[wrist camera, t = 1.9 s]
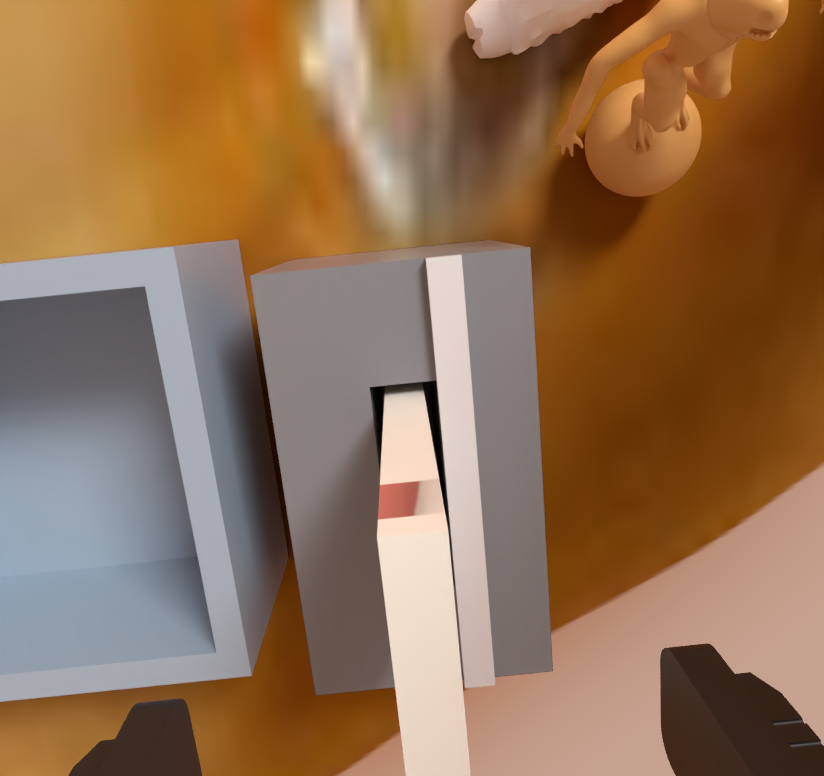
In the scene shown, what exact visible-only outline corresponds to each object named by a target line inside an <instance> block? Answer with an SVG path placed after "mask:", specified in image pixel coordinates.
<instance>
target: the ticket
mask: <svg viewBox="0 0 824 776" xmlns="http://www.w3.org/2000/svg"><path fill="white" fill-rule="evenodd" d="M377 542H378V551H379V559H380V567H381V575H382V583H383V592H384V600H385V608H386V616H387V625H388V633H389V641H390V649H391V658H392V666H393V674H394V682H395V690H396V699H397V707H398V715H399V723H400V732H401V740H402V747H403V756H404V764H405V773H406V776H471V772H470V760H469V750H468V740H467V728H466V717H465V707H464V696H463V685H462V674H461V663H460V652H459V642H458V631H457V620H456V609H455V598H454V587H453V577H452V566H451V555H450V544H449V533H448V526H447V521H446V515H445V509H444V504H443V498H442V492H441V487H440V481H439V475H438V470H437V464H436V458H435V452H434V447H433V441H432V435H431V430H430V424H429V418H428V413H427V407H426V401H425V396H424V390H423V384H422V382H416V383H406V384H396V385H387V386H385V396H384V415H383V434H382V453H381V471H380V490H379V509H378V527H377Z"/></svg>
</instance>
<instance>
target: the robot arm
mask: <svg viewBox="0 0 824 776" xmlns="http://www.w3.org/2000/svg"><path fill="white" fill-rule="evenodd" d="M660 663H661V664H660V666H661V669H660V670H661V731H662V738H663V742H664V747H665V750H666V754H667V756H668V760H669V762H670V765H671V767H672V769H673V771H674V773H675V775H676V776H824V746H823V745H822V744H821V740H820V739H819V737H818V736H817V735H816V734H815V733H814V732H813V730H812V729H811V728H810V727H809V726H808V725H807V724H804V722H803V720H802V718H801V716H800V715H799V714H798V713H797V711H796V710H795V709H794V708H793V707H792V705H790V703H789V702H788V701H787V699H786V698H785V697H784V696H783V695H782V693H780V692H779V691H777V690H776V689H774V688H773V687H771V686H770V685H768V684H767V683H765V682H764V681H762V680H761V679H759V678H758V677H756V676H755V675H753V674H752V673H750V672H749V673H740V674H734V673H733V671H732V670H731V669H730V667H729V666H728V665H727V664H726V662H725V661H724V660H723V658H722V657H721V656H720V654H719V653H718V652H717V651H716V650H715V648H714V647H713V646H712V645H710V644H699V645H689V646H680V647H671V648H664V649H663V650H662V653H661V659H660ZM69 776H202V773H201V767H200V763H199V758H198V753H197V748H196V743H195V739H194V734H193V729H192V724H191V719H190V715H189V710H188V706H187V704H186V702H185V700H183V699H172V700H163V701H154V702H145V703H137V704H135V705H134V706H133V707H132V709H131V711H130V712H129V714H128V716H127V718H126V720H125V722H124V724H123V726H122V727H121V729H120V731H119V733H118V735H117V737H116V739H113V740H104V741H100V742H99V743H98V744H97V745H96V746H95V747H94V748H93V749H92V750H91V751H90V752H89V753H88V754H87V755H86V756H85V757H84V758H83V759H82V760H81V761H80V762H78V763H77V764H76V765H75V766H74V767H73V769H72V771H71V772H70V774H69Z"/></svg>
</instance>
